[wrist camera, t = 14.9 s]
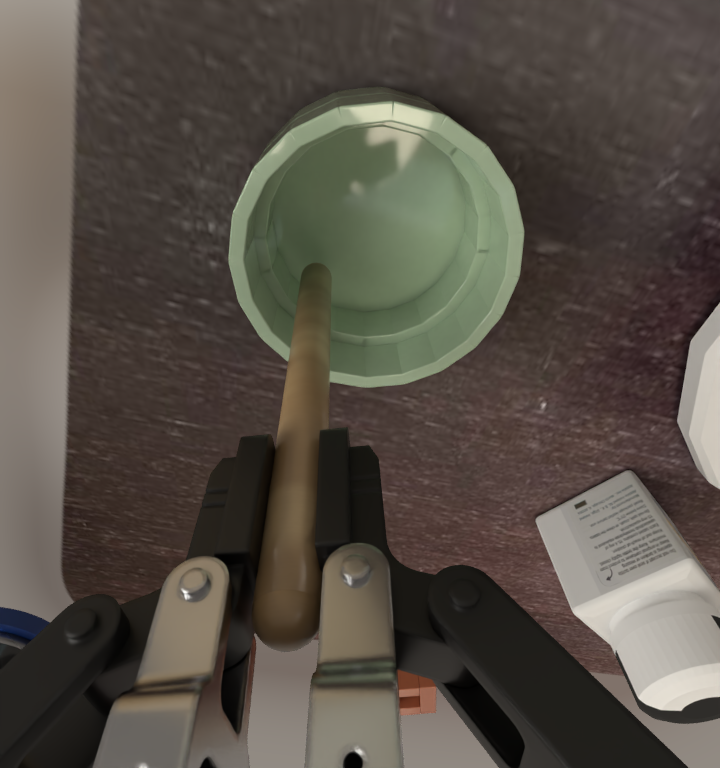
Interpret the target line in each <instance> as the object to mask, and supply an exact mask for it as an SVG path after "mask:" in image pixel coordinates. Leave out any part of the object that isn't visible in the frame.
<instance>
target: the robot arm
mask: <svg viewBox="0 0 720 768" xmlns="http://www.w3.org/2000/svg"><path fill="white" fill-rule="evenodd" d="M274 457H275V446H274V442H273V438H272V436H271V435H270V434H268V435H257V436H246V437H242V438H241V440H240V443H239V447H238V452H237V456H236V457H233V458H223V459H222V460H221V461H220V463H219V464H218V465H217V466H216V468H215V469H214V470H213V471H212V473H211V474H210V478H209V481H208V485H207V488H206V494H205V495H204V499H203V502H202V508H201V509H200V513H199V516H198V520H197V523H196V527H195V530H194V534H193V537H192V541H191V544H190V548H189V551H188V555H187V558H186V561H185V562H183V563H182V564H180V565H179V566H178V567H176V568H175V569H174V570H173V571H172V572H171V573H170V574H169V576H168V577H167V579H166V580H165V582H164V584H163V587H162V588H160V589H159V590H157V591H155V592H153V593H150V594H148V595H145V596H143V597H140V598H137V599H135V600H132V601H129V602H127V603H124V604H122V605H119V604H118V602H117V601H116V600H115V599H114V598H113V597H111V596H109V595H104V594H96V595H91V596H87V597H84V598H82V599H80V600H78V601H76V602H74V603H73V604H71V605H70V606H68V607H67V608H66V609H65V610H64V611H62V612H61V613H60V614H59V615H58V616H57V617H56V618H55V619H54V620H53V621H52V622H51V623H50V624H48V625H47V626H46V627H45V628H44V629H43V630H42V631H41V632H40V633H39V634H38V635H37V636H36V637H35V638H34V639H33V640H31V641H29V640H27V639H25V638H23V637H20V636H17V635H14V634H10V633H6V632H1V631H0V768H250V766H249V755H248V746H247V734H248V723H249V713H250V704H251V693H252V684H253V673H254V664H255V654H256V640H255V637H254V631H255V630H254V627H253V623H252V617H251V616H252V604H253V597H254V590H255V584H256V577H257V573H258V566H259V559H260V552H261V545H262V539H263V532H264V525H265V518H266V511H267V504H268V498H269V491H270V484H271V477H272V470H273V464H274ZM315 549H316V553H317V558H318V562H319V567H320V571H321V572H322V573H323V576H322V593H321V610H320V626H319V643H318V660H317V668H316V672H315V673H313V676H312V679H311V685H310V696H309V709H308V724H307V739H306V754H305V768H404V758H403V744H402V730H401V715H400V700H399V685H398V670H401V671H404V672H408V673H411V674H415V675H418V676H422V677H425V678H428V679H432V680H433V682H434V684H435V685H436V686H437V688H438V689H439V690H440V691H441V693H442V694H443V696H444V697H445V698H446V699H447V701H448V702H449V703H450V704H451V706H452V707H453V709H454V710H455V711H456V712H457V714H458V715H459V716H460V718H461V719H462V720H463V721H464V723H465V724H466V725H467V727H468V728H469V729H470V731H471V732H472V733H473V735H474V736H475V737H476V738H477V740H478V741H479V742H480V744H481V745H482V746H483V747H484V749H485V750H486V751H487V753H488V754H489V755H490V757H491V758H492V759H493V760H494V762H495V763H496V764H497V766H498V767H499V768H688V767H687V766H686V765H685V764H684V763H683V762H682V761H681V760H680V759H679V758H678V757H677V756H676V755H675V754H674V753H673V752H672V751H671V750H670V749H668V748H667V747H666V746H665V745H664V744H663V743H662V742H661V741H660V740H659V739H658V738H657V737H656V736H655V735H654V734H653V733H652V732H651V731H650V730H649V729H648V728H647V727H646V726H644V725H643V724H642V723H641V722H640V721H639V720H638V719H637V718H636V717H635V716H634V715H633V714H632V713H631V712H630V711H629V710H628V709H627V708H626V707H625V706H623V704H621V703H620V702H619V701H618V700H617V699H616V698H615V697H614V696H613V695H612V694H611V693H610V692H609V691H608V690H607V689H606V688H605V687H604V686H603V685H602V684H601V683H600V682H599V681H598V680H597V679H595V678H594V677H593V676H592V675H591V674H590V673H589V672H588V671H587V670H586V669H585V668H584V667H583V666H582V665H581V664H580V663H579V662H578V661H577V660H576V659H575V658H574V657H573V656H571V655H570V654H569V653H568V652H567V651H566V650H565V649H564V648H563V647H562V646H561V645H560V644H559V643H558V642H557V641H556V640H555V639H554V638H553V637H552V636H551V635H550V634H549V633H548V632H546V631H545V630H544V629H543V628H542V627H541V626H540V625H539V624H538V623H537V622H536V621H535V620H534V619H533V618H532V617H531V616H530V615H529V614H528V613H527V612H526V611H525V610H524V609H522V608H521V607H520V606H519V605H518V604H517V603H516V602H515V601H514V600H513V599H512V598H511V597H510V596H509V595H508V594H507V593H506V592H505V591H504V590H503V589H502V588H501V587H500V586H498V585H497V584H496V583H495V582H494V581H493V580H492V579H491V578H490V577H489V576H488V575H487V574H485V573H484V572H482V571H481V570H479V569H476V568H474V567H471V566H465V565H455V566H450V567H447V568H445V569H443V570H441V571H440V572H438V573H437V574H436V575H433V574H428V573H424V572H419V571H416V570H412V569H410V568H408V567H406V566H404V565H402V564H401V563H400V562H399V561H397V560H396V559H395V558H394V556H393V555H392V554H391V552H390V550H389V548H388V545H387V539H386V529H385V519H384V509H383V499H382V489H381V478H380V468H379V459H378V457H377V456H376V455H375V453H374V452H373V450H372V449H371V447H370V446H357V447H350V440H349V432H348V427H347V428H336V429H324V430H320V435H319V458H318V481H317V505H316V528H315Z"/></svg>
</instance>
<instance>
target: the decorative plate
mask: <svg viewBox="0 0 720 768" xmlns="http://www.w3.org/2000/svg"><path fill="white" fill-rule="evenodd" d="M677 423H678V425H679V427H680V430H681V432H682V434H683V437H684V439H685V441H686V444H687V446H688V448H689V451H690V453H691V455H692V458H693V460H694V462H695V465H696V467H697V469H698V470H699V471H700V472H701V474H702V475H703V476H704V477H705V478H706V480H707V481H708V482H709V483H711V484H712V485H714V486H715V487H717V488H718V489H720V303H719V304H718V306H717V307H716V308H715V310H714V311H713V312H712V314H711V315H710V316H709V318H708V319H707V320H706V321H705V323H704V324H703V325H702V327H701V328H700V329H699V331H698V332H697V333H696V335H695V336H694V337H693V339H692V340H691V342H690V348H689V354H688V360H687V366H686V371H685V377H684V383H683V389H682V395H681V401H680V406H679V412H678V418H677Z"/></svg>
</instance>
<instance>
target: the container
mask: <svg viewBox="0 0 720 768" xmlns="http://www.w3.org/2000/svg"><path fill="white" fill-rule="evenodd" d="M536 524H537V527H538V529H539V531H540V534H541V536H542V539H543V541H544V544H545V546H546V548H547V551H548V553H549V556H550V558H551V561H552V563H553V566H554V568H555V570H556V573H557V575H558V578H559V580H560V583H561V585H562V588H563V590H564V592H565V595H566V597H567V600H568V602H569V605H570V607H571V610H572V612H573V613H574V615H576V616H577V617H578V618H579V619H580V620H582V621H583V622H584V623H585V624H586V625H587V626H589V627H590V628H591V629H592V630H593V631H595V632H596V633H597V634H598V635H599V636H600V637H602V638H603V639H604V640H605V641H606V642H608V643H609V644H610V645H611V647H612V649H613V651H614V653H615V656H616V658H617V660H618V662H619V664H620V667H621V669H622V671H623V673H624V676H625V678H626V680H627V682H628V684H629V687H630V689H631V691H632V693H633V695H634V698H635V700H636V702H637V704H638V706H639V708H640V709H641V710H642V711H643V712H645V713H646V714H648V715H649V716H651V717H652V718H655V719H658V720H662V721H667V722H672V723H683V724H686V723H688V724H689V723H699V722H705V721H710V720H714V719H718V718H720V590H719V589H718V587H717V586H716V584H715V583H714V581H713V580H712V578H711V577H710V576H709V574H708V573H707V571H706V570H705V568H704V567H703V565H702V564H701V562H700V561H699V560H698V558H697V557H696V555H695V554H694V552H693V551H692V549H691V548H690V547H689V545H688V544H687V542H686V541H685V539H684V538H683V536H682V535H681V534H680V532H679V531H678V529H677V528H676V526H675V525H674V523H673V522H672V520H671V519H670V518H669V517H668V515H667V514H666V513H665V511H664V510H663V509H662V508H661V506H660V505H659V504H658V502H657V501H656V500H655V499H654V497H653V496H652V495H651V493H650V492H649V491H648V490H647V488H646V487H645V486H644V485H643V483H642V482H641V481H640V479H639V478H638V477H637V476H636V474H635V473H634V472H633V471H631V470H626V471H624V472H622V473H620V474H618V475H616V476H614V477H613V478H611V479H609V480H607V481H605V482H603V483H601V484H599V485H597V486H595V487H593V488H591V489H590V490H588V491H586V492H584V493H582V494H580V495H578V496H576V497H574V498H572V499H570V500H568V501H567V502H565V503H563V504H561V505H559V506H557V507H555V508H553V509H551V510H549V511H547V512H545V513H544V514H542V515H540V516H538V517H537V518H536Z"/></svg>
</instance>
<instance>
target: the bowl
mask: <svg viewBox="0 0 720 768" xmlns="http://www.w3.org/2000/svg"><path fill="white" fill-rule="evenodd" d="M523 243H524V226H523V222H522V217H521V213H520V208H519V204H518V199H517V195H516V191H515V188H514V185H513V183H512V182H511V180H510V179H509V177H508V175H507V174H506V172H505V171H504V169H503V168H502V166H501V165H500V163H499V162H498V160H497V159H496V157H495V155H494V154H493V152H492V151H491V149H490V148H489V146H487V145H486V143H484V142H483V141H481V140H480V139H479V138H477V137H476V136H475V135H473V134H472V133H471V132H469V131H468V130H467V129H465V128H464V127H462V126H461V125H460V124H458V123H457V122H456V121H454V120H453V119H452V118H450V117H449V116H447V115H446V114H445V113H443V112H442V111H441V110H439V109H438V108H436V107H435V106H434V105H432V104H431V103H430V102H428V101H427V100H425V99H423V98H421V97H419V96H415V95H411V94H408V93H404V92H400V91H397V90H393V89H389V88H385V87H382V88H381V87H371V88H361V89H351V90H341V91H339V92H338V91H337V92H335V93H333V94H331V95H329V96H327V97H325V98H323V99H320V100H318V101H316V102H314V103H312V104H310V105H308V106H306V107H304V108H302V109H300V111H298V112H297V113H296V114H295V115H294V116H293V117H292V118H291V119H290V120H289V121H288V122H287V123H286V124H285V125H284V127H283V128H282V129H281V130H280V131H279V132H278V133H277V134H276V135H275V136H274V137H273V138H272V139H271V140H270V142H269V143H268V145H267V146H266V148H265V150H264V151H263V153H262V155H261V156H260V158H259V159H258V161H257V163H256V164H255V166H254V167H253V169H252V171H251V173H250V175H249V177H248V180H247V182H246V184H245V186H244V188H243V191H242V193H241V195H240V197H239V200H238V202H237V204H236V206H235V208H234V211H233V215H232V221H231V232H230V244H229V256H228V259H229V261H228V262H229V266H230V270H231V274H232V278H233V282H234V286H235V290H236V294H237V298H238V302H239V303H240V306H241V307H242V309H243V310H244V312H245V314H246V315H247V317H248V318H249V320H250V322H251V323H252V325H253V326H254V328H255V330H256V331H257V333H258V334H259V336H260V337H261V338H262V340H263V341H265V342H266V343H267V344H268V345H269V346H270V347H271V348H273V349H274V350H275V351H276V352H277V353H278V354H280V355H281V356H282V357H283V358H284V359H285V360H286V361H289V354H290V348H291V341H292V334H293V327H294V321H295V314H296V307H297V300H298V294H299V287H300V280H301V274H302V271H303V270H304V268H305V267H306V266H307V265H309V264H311V263H321V264H323V265H325V266H326V267H327V268H328V269H329V270H330V273H331V276H332V289H331V336H330V382H334V383H340V384H346V385H352V386H358V387H364V388H365V387H366V388H369V387H380V386H391V385H402V384H404V383H405V384H407V383H410V382H413V381H415V380H418V379H421V378H424V377H427V376H429V375H432V374H435V373H438V372H441V371H442V370H444V369H446V368H447V367H448V366H450V365H451V364H453V363H454V362H456V361H457V360H459V359H460V358H462V357H463V356H464V355H466V354H467V353H469V352H470V351H472V350H473V349H474V348H475V347H477V345H478V344H479V343H480V342H481V341H482V339H483V338H484V337H485V336H486V335H487V334H488V332H489V331H490V330H491V329H492V328H493V326H494V325H495V324H496V323H497V322H498V321H499V319H500V318H501V317H502V316H501V315H503V313H504V311H505V309H506V307H507V304H508V302H509V300H510V298H511V295H512V293H513V291H514V289H515V286H516V284H517V282H518V280H519V276H520V270H521V261H522V252H523Z"/></svg>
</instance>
